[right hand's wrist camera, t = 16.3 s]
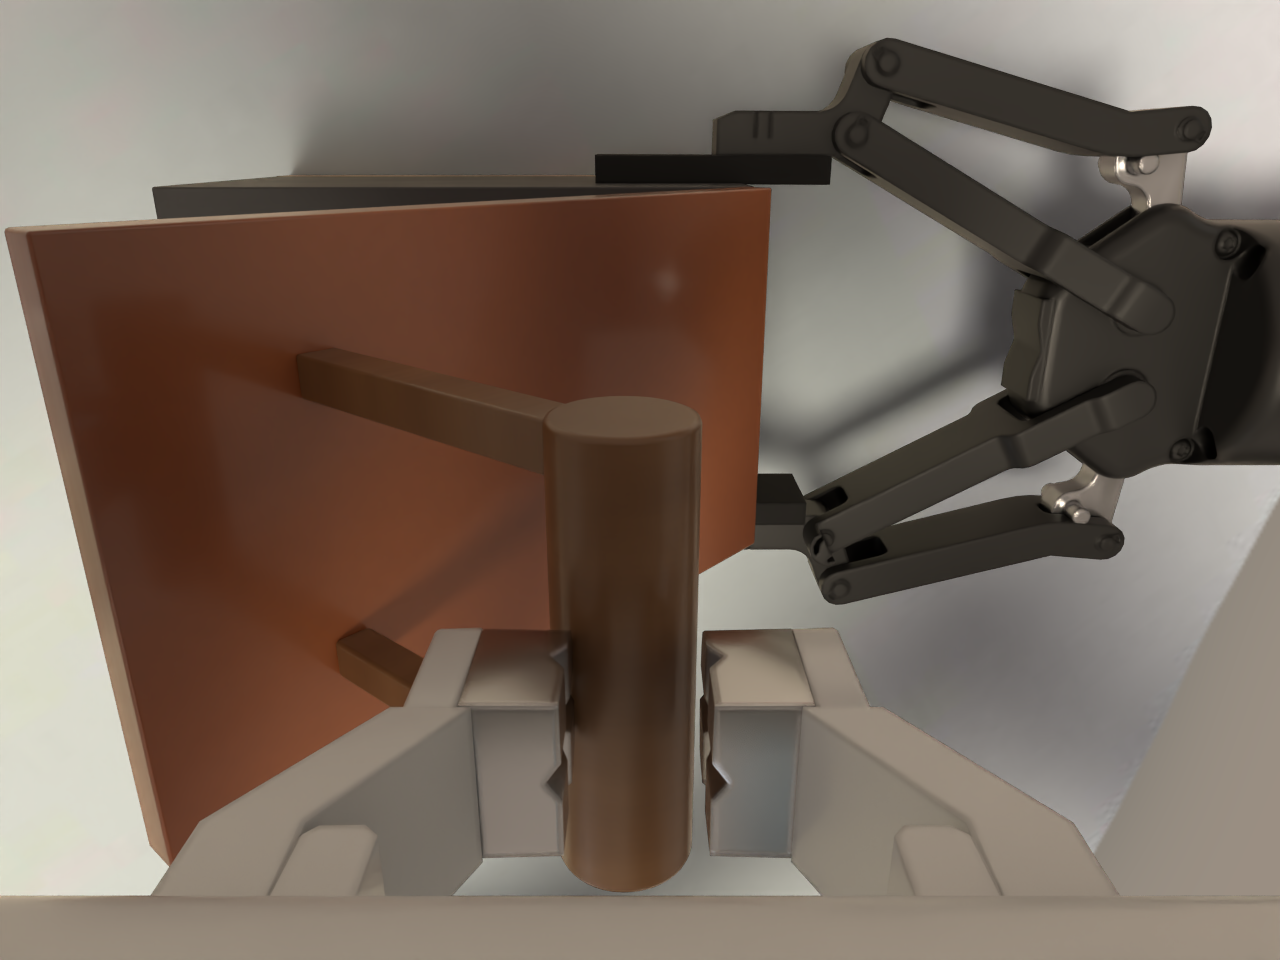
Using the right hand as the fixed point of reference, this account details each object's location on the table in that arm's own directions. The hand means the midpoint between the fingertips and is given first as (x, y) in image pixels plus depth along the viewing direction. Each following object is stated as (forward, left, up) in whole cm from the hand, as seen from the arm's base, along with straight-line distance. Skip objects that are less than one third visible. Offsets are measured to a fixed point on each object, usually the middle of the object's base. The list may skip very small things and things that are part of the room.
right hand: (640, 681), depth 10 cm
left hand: (0, -1, -19) cm, 19 cm away
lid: (-1, -2, -9) cm, 9 cm away
